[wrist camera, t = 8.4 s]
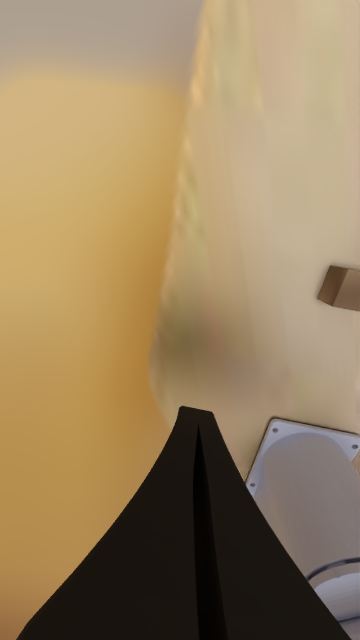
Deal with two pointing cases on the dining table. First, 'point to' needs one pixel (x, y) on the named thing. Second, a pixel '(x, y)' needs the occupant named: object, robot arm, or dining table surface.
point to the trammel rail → (341, 288)
